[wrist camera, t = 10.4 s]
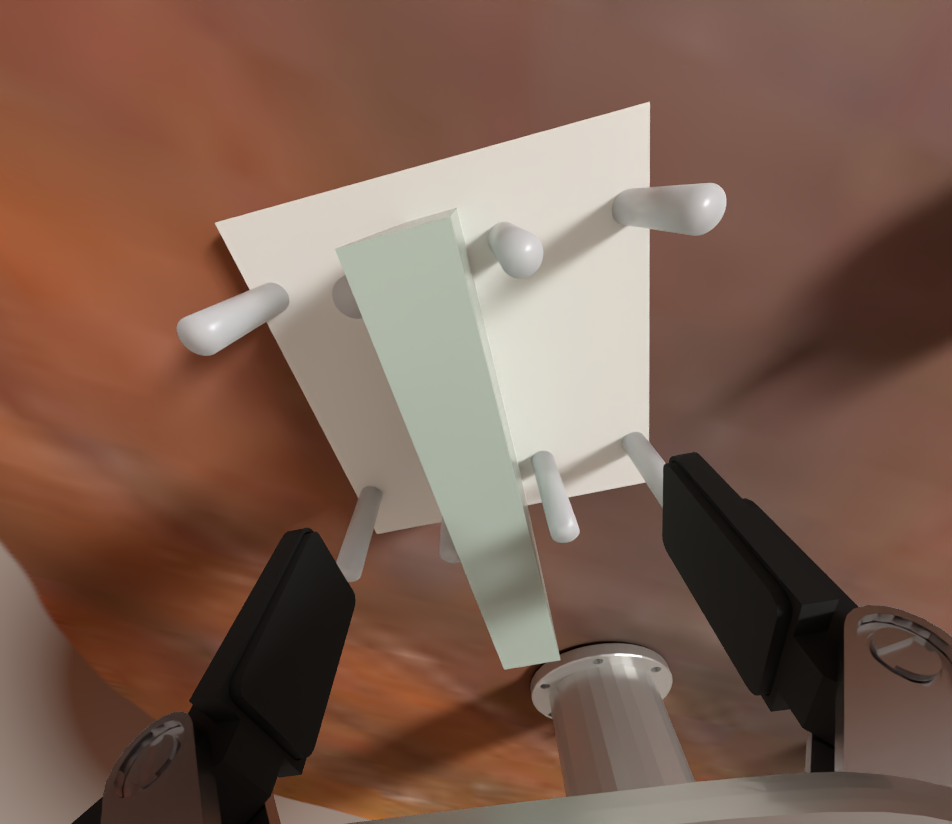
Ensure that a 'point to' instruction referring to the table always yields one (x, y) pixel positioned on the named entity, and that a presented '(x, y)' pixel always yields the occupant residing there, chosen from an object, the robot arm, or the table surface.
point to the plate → (456, 417)
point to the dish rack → (503, 308)
